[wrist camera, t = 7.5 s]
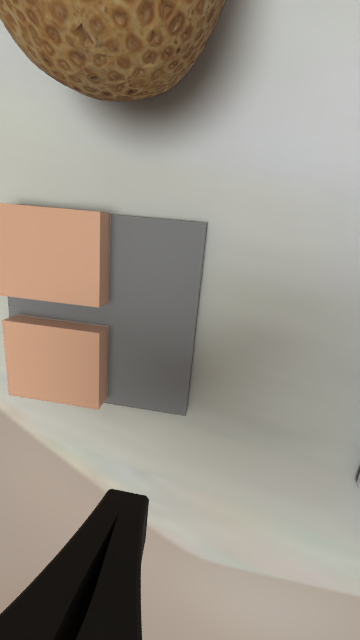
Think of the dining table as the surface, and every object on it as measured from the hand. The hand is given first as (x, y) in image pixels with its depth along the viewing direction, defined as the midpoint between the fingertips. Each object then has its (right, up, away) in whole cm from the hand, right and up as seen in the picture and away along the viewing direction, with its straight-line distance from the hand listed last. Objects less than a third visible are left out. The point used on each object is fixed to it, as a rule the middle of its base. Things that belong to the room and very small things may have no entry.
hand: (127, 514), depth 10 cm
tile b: (-3, +4, +8) cm, 9 cm away
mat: (-3, +7, +8) cm, 11 cm away
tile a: (-2, +10, +6) cm, 12 cm away
